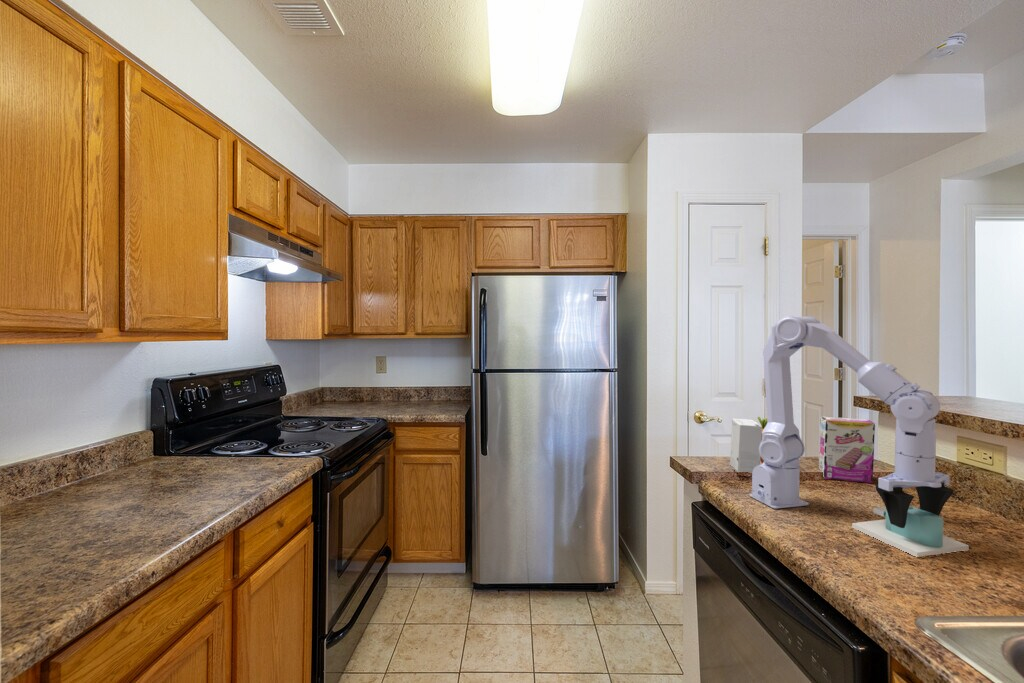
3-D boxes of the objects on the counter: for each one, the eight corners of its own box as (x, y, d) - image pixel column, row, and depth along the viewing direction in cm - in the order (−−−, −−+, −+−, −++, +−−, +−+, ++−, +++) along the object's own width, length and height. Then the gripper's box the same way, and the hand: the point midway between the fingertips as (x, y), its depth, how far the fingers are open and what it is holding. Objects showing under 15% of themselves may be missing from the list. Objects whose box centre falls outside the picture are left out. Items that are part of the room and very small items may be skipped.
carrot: (751, 463, 131) (751, 414, 131) (766, 463, 132) (767, 414, 131) (762, 469, 126) (762, 418, 126) (778, 468, 127) (778, 417, 126)
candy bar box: (824, 479, 117) (825, 419, 117) (818, 473, 122) (819, 416, 122) (874, 484, 114) (875, 422, 113) (866, 478, 118) (867, 418, 118)
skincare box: (729, 467, 128) (730, 417, 127) (751, 469, 127) (752, 418, 126) (737, 477, 120) (738, 423, 119) (762, 478, 118) (762, 424, 118)
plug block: (931, 548, 79) (932, 521, 79) (870, 522, 89) (870, 498, 89) (948, 546, 80) (949, 519, 79) (885, 520, 90) (885, 496, 90)
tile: (917, 558, 78) (917, 552, 77) (852, 527, 89) (852, 523, 89) (968, 550, 80) (968, 545, 80) (898, 522, 92) (898, 517, 92)
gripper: (907, 462, 78) (905, 537, 78) (969, 457, 81) (967, 529, 81) (867, 451, 85) (866, 520, 85) (926, 447, 87) (925, 513, 88)
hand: (913, 523), depth 83 cm, fingers open, 7 cm apart
